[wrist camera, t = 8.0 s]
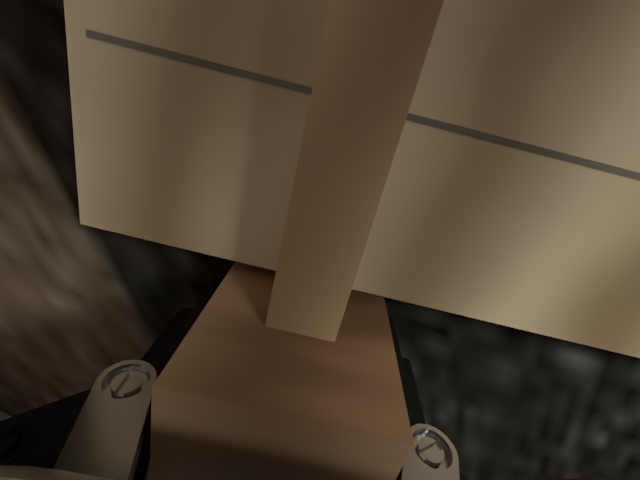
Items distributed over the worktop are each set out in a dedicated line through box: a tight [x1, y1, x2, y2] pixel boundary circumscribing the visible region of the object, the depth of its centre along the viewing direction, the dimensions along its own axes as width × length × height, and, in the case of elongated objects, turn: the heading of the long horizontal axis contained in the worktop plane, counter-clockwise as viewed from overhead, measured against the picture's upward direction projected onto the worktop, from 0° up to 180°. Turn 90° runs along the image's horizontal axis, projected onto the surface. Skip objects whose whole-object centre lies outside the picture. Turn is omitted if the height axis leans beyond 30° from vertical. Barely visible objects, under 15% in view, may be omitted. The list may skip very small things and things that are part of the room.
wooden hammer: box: [150, 0, 444, 480], centre depth 8 cm, size 5×15×6 cm, turn 167°
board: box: [64, 0, 640, 358], centre depth 9 cm, size 22×9×2 cm, turn 77°
